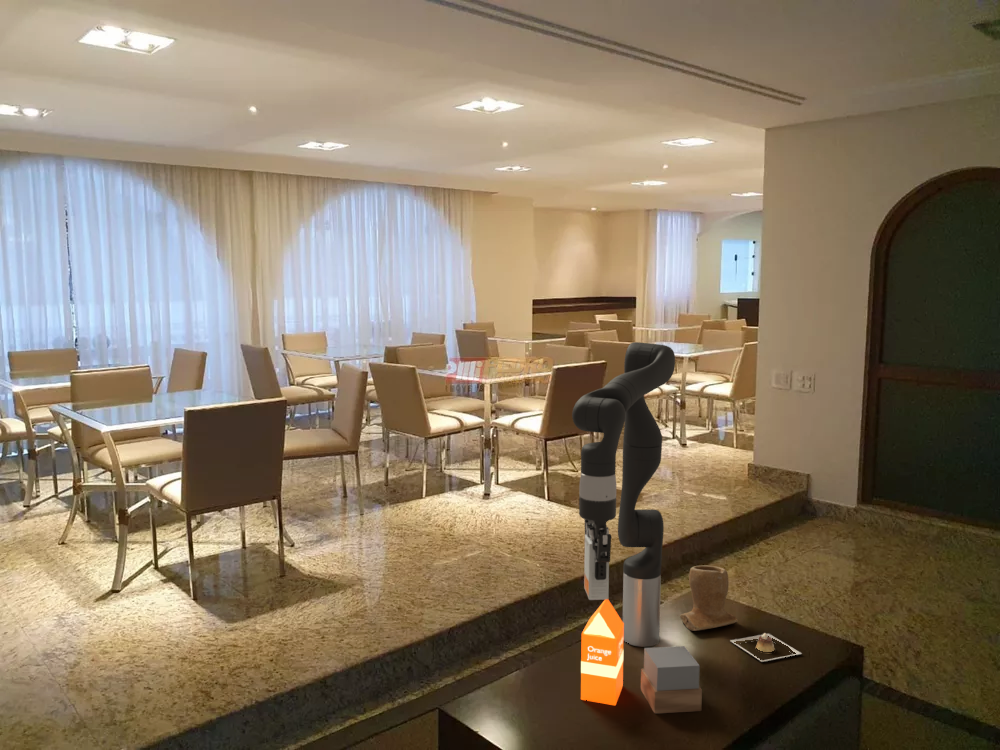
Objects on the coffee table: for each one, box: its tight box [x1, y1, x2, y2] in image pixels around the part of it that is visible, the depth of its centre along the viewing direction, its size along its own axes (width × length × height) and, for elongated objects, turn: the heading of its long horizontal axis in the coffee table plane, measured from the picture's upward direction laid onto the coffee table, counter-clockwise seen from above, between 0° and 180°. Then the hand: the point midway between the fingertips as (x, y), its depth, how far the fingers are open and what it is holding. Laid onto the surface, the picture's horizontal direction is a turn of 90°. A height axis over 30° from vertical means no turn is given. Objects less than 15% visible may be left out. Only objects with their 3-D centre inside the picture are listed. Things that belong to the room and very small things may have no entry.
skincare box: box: [583, 534, 610, 601], centre depth 158 cm, size 6×4×12 cm
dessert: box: [729, 632, 803, 663], centre depth 187 cm, size 12×12×5 cm
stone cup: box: [679, 564, 738, 632], centre depth 201 cm, size 15×12×15 cm
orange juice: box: [580, 599, 625, 706], centre depth 165 cm, size 8×9×20 cm
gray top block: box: [643, 645, 701, 691], centre depth 162 cm, size 9×9×5 cm
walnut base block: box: [640, 667, 703, 714], centre depth 163 cm, size 10×10×5 cm
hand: (596, 572), depth 158 cm, fingers closed on skincare box, 6 cm apart
